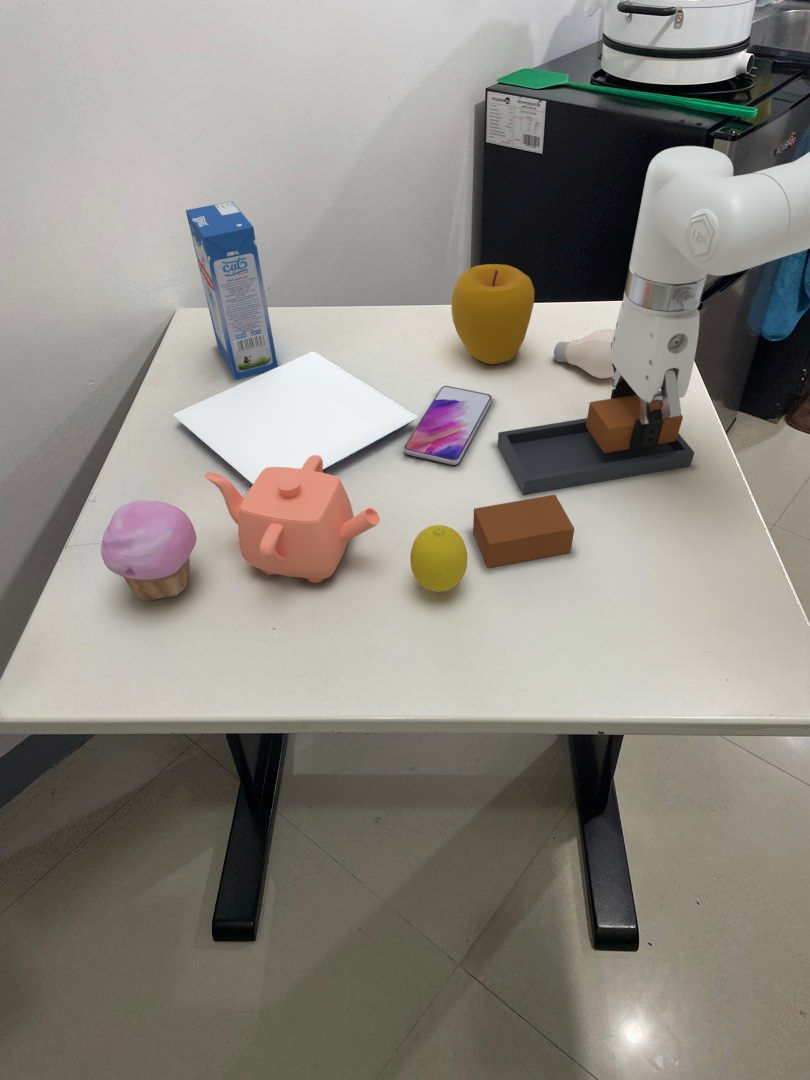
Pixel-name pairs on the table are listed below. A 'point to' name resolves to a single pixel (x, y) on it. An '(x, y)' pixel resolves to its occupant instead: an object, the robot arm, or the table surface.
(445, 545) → the lemon
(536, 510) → the brown brick
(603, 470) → the frame
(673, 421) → the brown rectangular block
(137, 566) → the cupcake
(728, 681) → the table surface
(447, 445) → the smartphone
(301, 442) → the plate
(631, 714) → the table surface
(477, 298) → the apple
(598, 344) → the light bulb
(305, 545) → the teapot
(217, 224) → the milk carton
